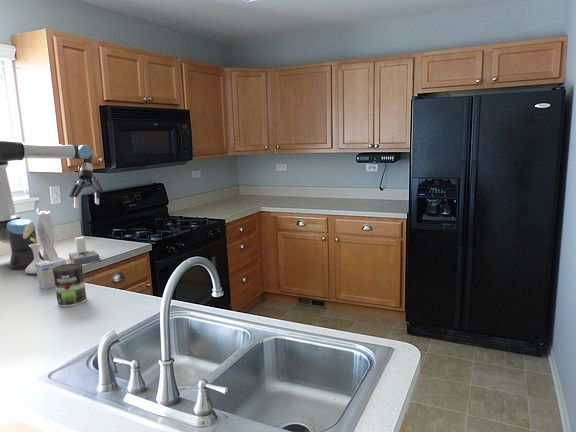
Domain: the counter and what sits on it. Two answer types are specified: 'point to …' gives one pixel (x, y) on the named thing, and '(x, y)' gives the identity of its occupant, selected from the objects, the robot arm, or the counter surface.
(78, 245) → the white cylinder
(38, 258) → the flower in vase
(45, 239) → the skyscraper
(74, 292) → the coffee can
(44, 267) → the light bulb box
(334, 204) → the counter surface
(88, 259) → the switch box
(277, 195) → the counter surface
